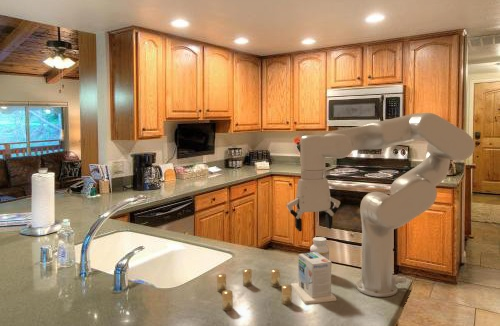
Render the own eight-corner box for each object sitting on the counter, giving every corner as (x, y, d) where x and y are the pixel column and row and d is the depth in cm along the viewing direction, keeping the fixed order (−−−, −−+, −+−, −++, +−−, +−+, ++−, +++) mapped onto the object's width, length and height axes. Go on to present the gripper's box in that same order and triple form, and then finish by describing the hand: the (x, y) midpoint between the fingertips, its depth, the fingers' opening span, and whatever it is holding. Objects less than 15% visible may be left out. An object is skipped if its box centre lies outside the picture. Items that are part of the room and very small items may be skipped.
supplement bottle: (306, 273, 146) (306, 238, 144) (319, 269, 149) (319, 235, 148) (319, 278, 140) (319, 242, 139) (332, 274, 144) (333, 239, 143)
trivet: (319, 282, 136) (319, 280, 136) (336, 300, 123) (336, 298, 123) (291, 285, 135) (291, 283, 134) (304, 303, 121) (304, 301, 121)
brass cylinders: (276, 280, 139) (276, 266, 139) (293, 304, 121) (293, 288, 120) (215, 285, 135) (215, 271, 135) (223, 311, 117) (222, 294, 116)
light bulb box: (297, 285, 133) (297, 253, 132) (316, 282, 135) (316, 251, 134) (312, 298, 123) (312, 264, 121) (332, 295, 125) (332, 261, 123)
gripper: (334, 172, 130) (335, 224, 132) (282, 175, 127) (284, 228, 129) (344, 174, 123) (344, 229, 125) (289, 178, 120) (290, 234, 121)
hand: (313, 229), depth 127 cm, fingers open, 9 cm apart
